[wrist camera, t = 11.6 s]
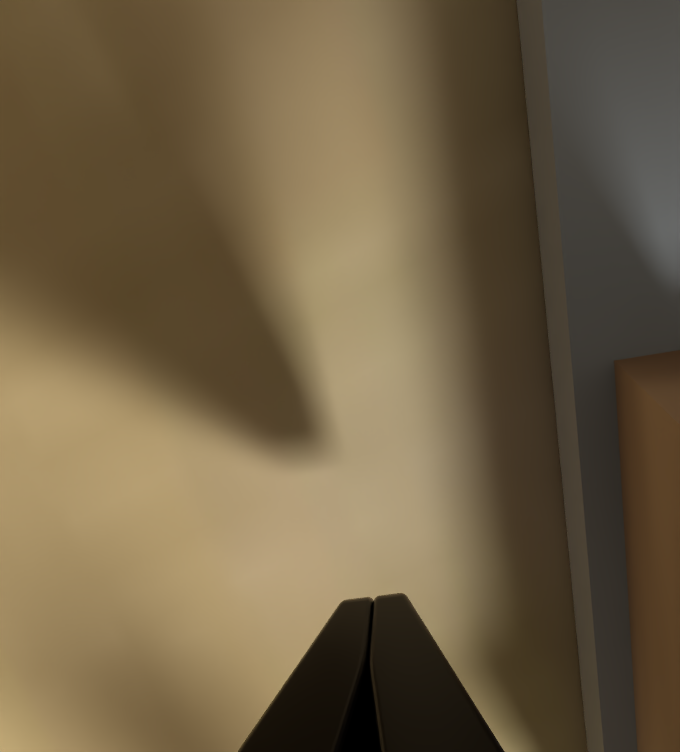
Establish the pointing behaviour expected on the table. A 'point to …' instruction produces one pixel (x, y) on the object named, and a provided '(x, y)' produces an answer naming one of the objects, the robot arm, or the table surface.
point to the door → (652, 539)
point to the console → (603, 283)
